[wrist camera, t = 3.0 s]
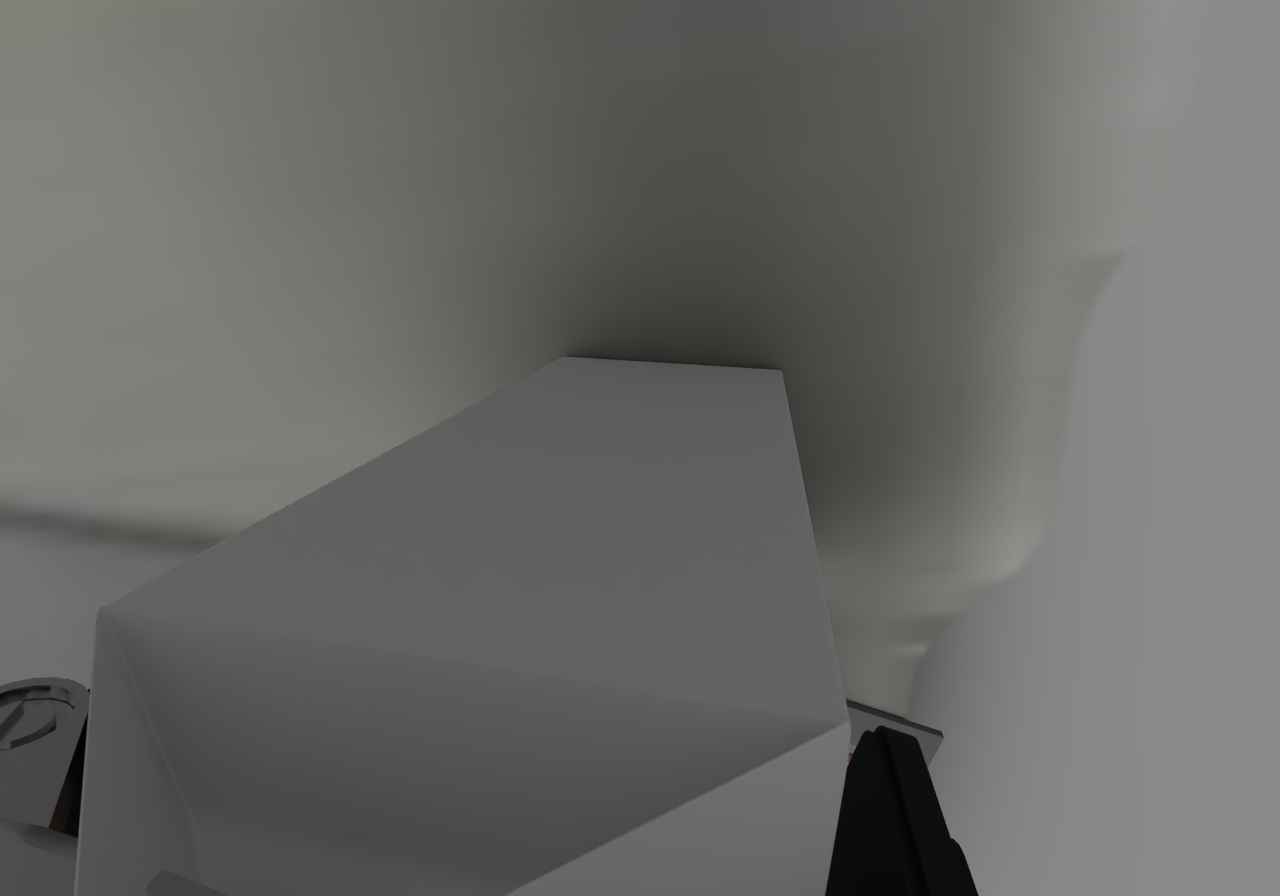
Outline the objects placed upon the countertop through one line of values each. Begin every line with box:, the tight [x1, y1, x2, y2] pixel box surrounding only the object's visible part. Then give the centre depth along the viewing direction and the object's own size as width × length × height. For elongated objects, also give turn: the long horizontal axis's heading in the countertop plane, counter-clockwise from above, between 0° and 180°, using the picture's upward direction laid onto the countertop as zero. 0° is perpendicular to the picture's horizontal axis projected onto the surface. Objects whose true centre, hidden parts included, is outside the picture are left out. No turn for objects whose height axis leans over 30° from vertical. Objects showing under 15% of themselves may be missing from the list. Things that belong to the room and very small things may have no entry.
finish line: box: [846, 701, 944, 768], centre depth 22 cm, size 2×18×1 cm, turn 77°
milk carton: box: [74, 357, 851, 896], centre depth 11 cm, size 7×7×19 cm
